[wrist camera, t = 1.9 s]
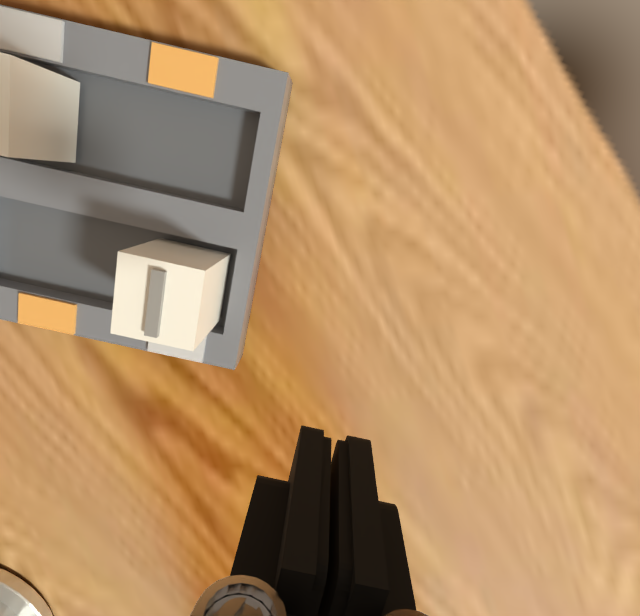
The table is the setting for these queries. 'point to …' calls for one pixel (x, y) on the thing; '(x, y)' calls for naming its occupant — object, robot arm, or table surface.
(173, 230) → the switch bank
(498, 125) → the table surface
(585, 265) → the table surface
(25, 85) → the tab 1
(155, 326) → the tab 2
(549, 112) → the table surface
